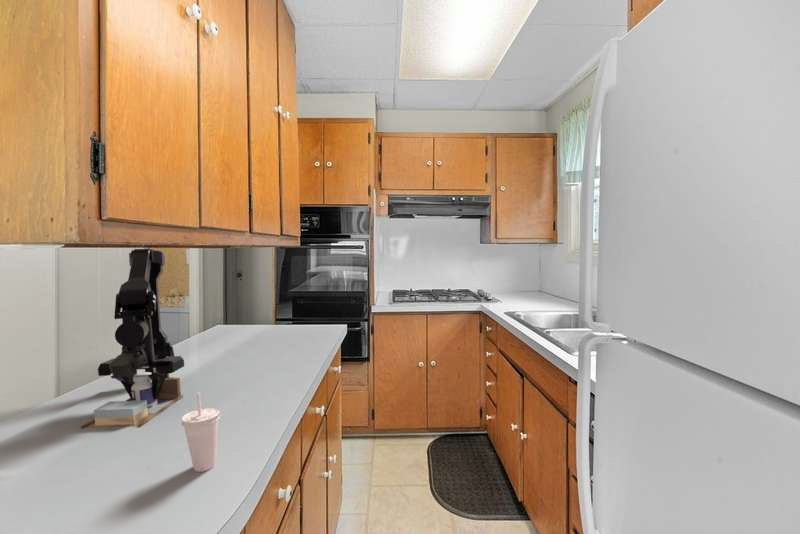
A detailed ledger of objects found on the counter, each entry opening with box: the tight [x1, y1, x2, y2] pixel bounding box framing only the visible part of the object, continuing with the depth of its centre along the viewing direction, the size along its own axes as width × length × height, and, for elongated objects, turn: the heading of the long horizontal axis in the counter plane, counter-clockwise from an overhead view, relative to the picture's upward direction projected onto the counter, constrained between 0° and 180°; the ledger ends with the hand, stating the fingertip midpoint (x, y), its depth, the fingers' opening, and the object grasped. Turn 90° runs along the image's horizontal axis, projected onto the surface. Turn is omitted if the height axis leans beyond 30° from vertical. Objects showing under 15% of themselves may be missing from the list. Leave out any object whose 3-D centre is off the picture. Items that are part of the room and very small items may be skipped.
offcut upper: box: [93, 400, 147, 418], centre depth 98 cm, size 5×9×2 cm, turn 88°
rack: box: [80, 377, 184, 430], centre depth 103 cm, size 18×14×6 cm
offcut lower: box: [94, 408, 149, 426], centre depth 98 cm, size 5×9×2 cm, turn 88°
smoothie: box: [180, 391, 221, 473], centre depth 77 cm, size 6×6×14 cm
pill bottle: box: [131, 371, 158, 409], centre depth 107 cm, size 5×5×9 cm
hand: (144, 399), depth 107 cm, fingers closed on pill bottle, 5 cm apart
